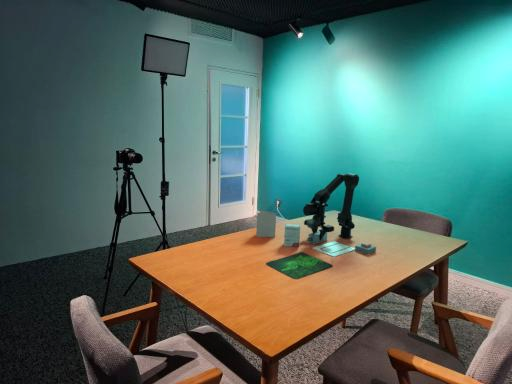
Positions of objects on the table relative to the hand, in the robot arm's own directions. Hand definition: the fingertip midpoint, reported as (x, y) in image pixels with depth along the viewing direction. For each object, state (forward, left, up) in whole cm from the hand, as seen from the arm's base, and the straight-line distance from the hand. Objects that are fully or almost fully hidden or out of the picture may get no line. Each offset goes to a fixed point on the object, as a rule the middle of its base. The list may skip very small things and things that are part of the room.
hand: (317, 239), depth 204 cm
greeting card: (+21, -24, -2) cm, 32 cm away
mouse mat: (+35, +18, -2) cm, 39 cm away
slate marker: (0, 0, -1) cm, 1 cm away
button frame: (-10, +26, -1) cm, 28 cm away
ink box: (+18, -4, -2) cm, 18 cm away
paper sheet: (+2, +14, -1) cm, 14 cm away
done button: (-10, +26, 0) cm, 28 cm away
